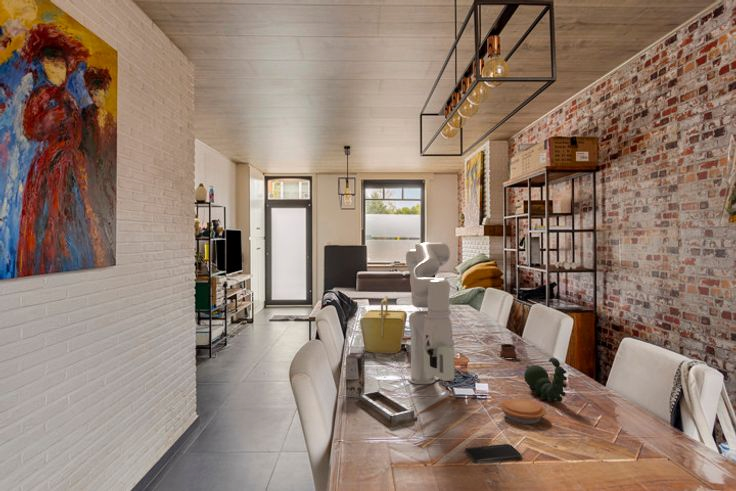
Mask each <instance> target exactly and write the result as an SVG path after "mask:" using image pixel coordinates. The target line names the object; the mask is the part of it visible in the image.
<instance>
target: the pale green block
mask: <svg viewBox="0 0 736 491" xmlns="http://www.w3.org/2000/svg"><path fill="white" fill-rule="evenodd" d="M428 349H429V346H428ZM432 351H433V349H432ZM436 357H437V368H433V367H431V366H430V356H429V355H428V353H427V352H426V351H424V372H426V373H428V374H430V375H433V376H434V377H435V378H438V379H439V380H442V381H445V382H447V381H453V380H455V346H453V347H452V346H449V345H443V346H438V347H437V349H436Z"/></svg>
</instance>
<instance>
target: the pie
mask: <svg viewBox="0 0 736 491" xmlns="http://www.w3.org/2000/svg"><path fill="white" fill-rule="evenodd" d="M499 404H500V405H499V407H500V409H501V411H502V412H503V414H504V415H505V417H506V418H507V419H508V420H509V421H511V422H513V423H517V424H522V425H534V424H538V423H539V422H540V421H541V419H542V417H543V416H545V415H546V414H547V409H546V408H545V407H544V406H543V405H541V404H539V403H537V402H536V401H533V400H530V399H529V400H528V399H524V398H523V399H522V398H511V399H507V400H505V401H502V402H501V403H499Z"/></svg>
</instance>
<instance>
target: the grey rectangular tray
mask: <svg viewBox="0 0 736 491" xmlns="http://www.w3.org/2000/svg"><path fill="white" fill-rule="evenodd" d="M355 405H357V406H358V407H360V408H361V409H362V410H364V411H366V413H368V414H369V415H371V416H372V417H374V418H375V419H377V421H379V422H381V423H382V424H384V425H385V426H386V427H388V428H390V427H391V428H392V427H394V426H398V425H402V424H406V423H410V422H414V421H418V416H416V415H415V410H414V409H412V408H411V407H409V406H407V405H405V404H404V403H402V402H401V401H399V400H397V399H395V398H394V397H392V396H390V395H388V394H387V393H385V392H384V391H382V390H380V389H378V390H373V391H368V392H363V393H362V394H359V398H358V400H356V401H355Z"/></svg>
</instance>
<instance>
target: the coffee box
mask: <svg viewBox="0 0 736 491" xmlns="http://www.w3.org/2000/svg"><path fill="white" fill-rule="evenodd" d="M365 356H366V355H365V352H350V353H348V355H347V356H346V357H345V397H347V398H356V399H359V394H362V393H365V391H366V390H365V387H366V386H365V385H366V384H365V382H366V381H365V378H366V375H365V374H366V371H365V369H366V368H365V365H366V364H365V361H366V360H365Z"/></svg>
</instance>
